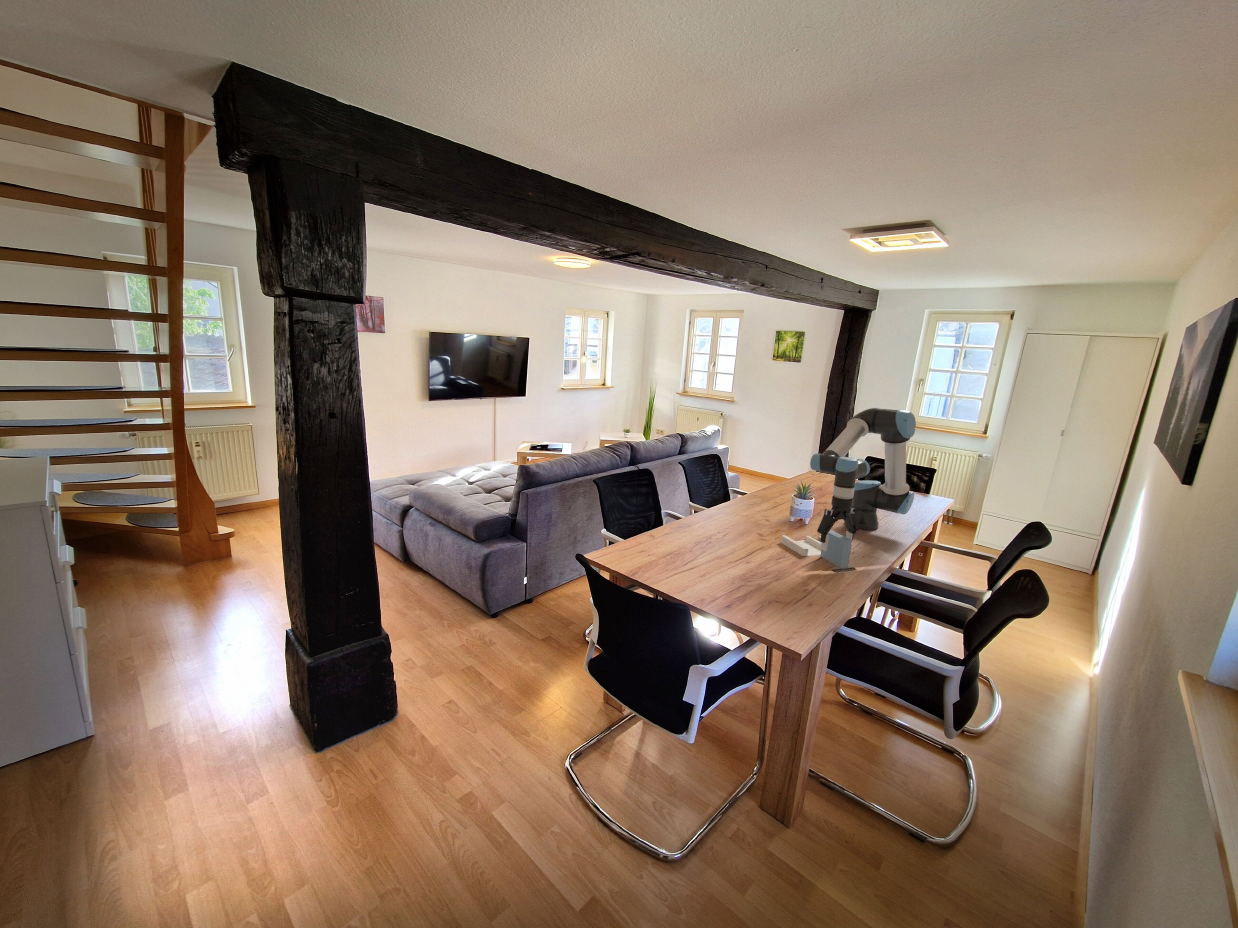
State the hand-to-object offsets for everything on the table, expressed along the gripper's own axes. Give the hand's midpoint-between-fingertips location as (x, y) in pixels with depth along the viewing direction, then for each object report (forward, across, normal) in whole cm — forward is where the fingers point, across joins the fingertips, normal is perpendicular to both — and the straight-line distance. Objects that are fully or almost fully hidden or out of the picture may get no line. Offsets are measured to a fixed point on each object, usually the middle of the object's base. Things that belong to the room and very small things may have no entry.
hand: (835, 548), depth 198 cm
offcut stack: (+6, -10, -16) cm, 19 cm away
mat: (+7, 0, 0) cm, 7 cm away
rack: (+7, -3, -16) cm, 17 cm away
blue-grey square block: (+6, 0, 0) cm, 6 cm away
